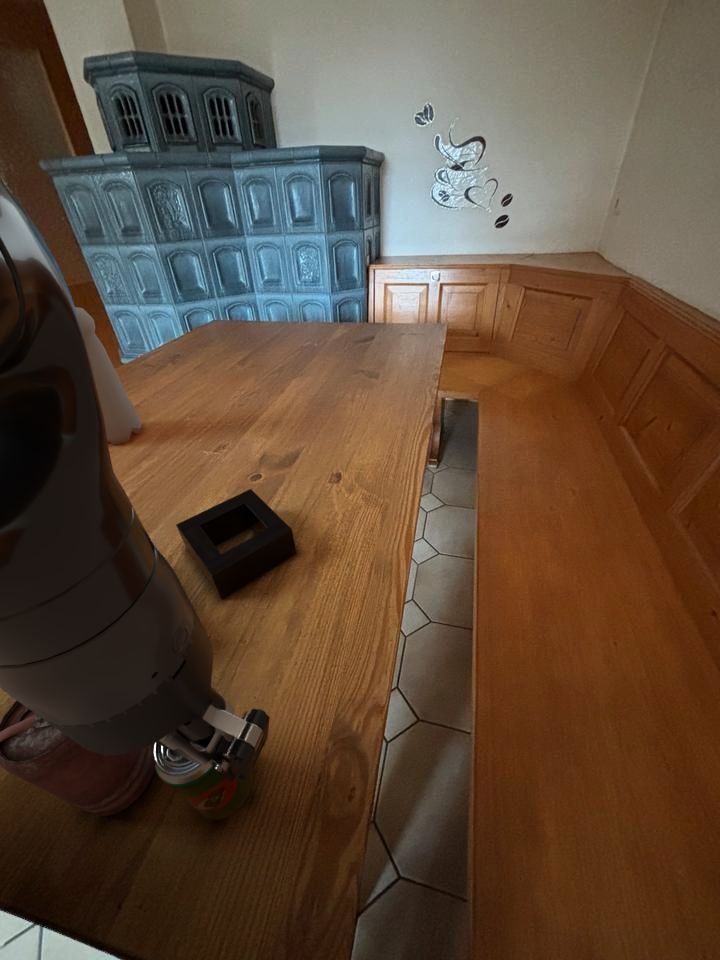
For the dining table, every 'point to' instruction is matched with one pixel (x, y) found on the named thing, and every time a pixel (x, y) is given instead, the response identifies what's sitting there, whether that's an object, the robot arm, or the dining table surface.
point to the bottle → (108, 387)
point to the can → (71, 764)
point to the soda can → (201, 783)
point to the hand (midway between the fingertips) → (205, 750)
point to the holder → (246, 557)
